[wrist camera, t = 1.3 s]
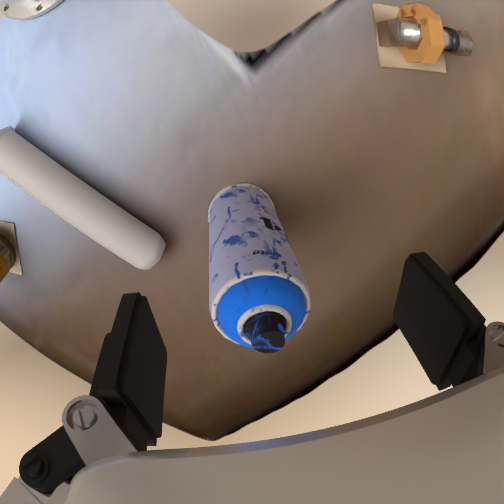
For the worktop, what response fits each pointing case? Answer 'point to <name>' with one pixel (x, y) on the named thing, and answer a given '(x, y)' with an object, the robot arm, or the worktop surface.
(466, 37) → the pipe
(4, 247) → the condiment
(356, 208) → the worktop surface
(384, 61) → the base board
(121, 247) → the tube
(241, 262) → the aerosol can
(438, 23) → the o ring
